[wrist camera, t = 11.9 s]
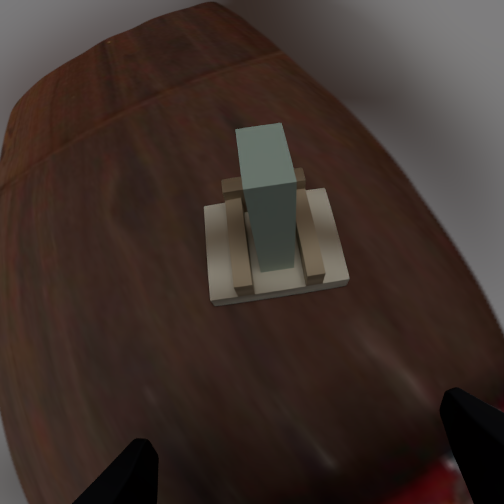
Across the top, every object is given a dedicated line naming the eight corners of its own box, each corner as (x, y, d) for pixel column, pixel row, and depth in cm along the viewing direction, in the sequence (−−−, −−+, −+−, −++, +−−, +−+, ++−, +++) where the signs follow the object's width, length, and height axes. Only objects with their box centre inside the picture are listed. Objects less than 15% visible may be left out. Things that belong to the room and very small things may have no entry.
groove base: (345, 285, 23) (357, 262, 19) (214, 306, 24) (199, 286, 20) (323, 198, 27) (328, 164, 23) (208, 215, 27) (195, 184, 23)
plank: (294, 267, 23) (296, 181, 14) (260, 272, 23) (242, 189, 14) (285, 219, 25) (281, 122, 16) (254, 224, 25) (235, 129, 16)
